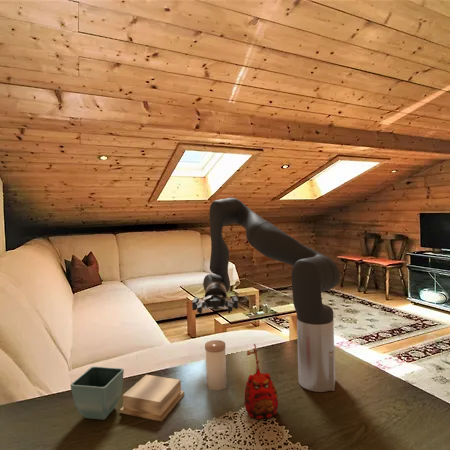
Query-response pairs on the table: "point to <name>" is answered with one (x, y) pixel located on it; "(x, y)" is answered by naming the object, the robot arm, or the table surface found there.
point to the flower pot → (97, 391)
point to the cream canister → (216, 365)
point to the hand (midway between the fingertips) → (214, 310)
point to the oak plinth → (152, 397)
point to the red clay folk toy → (260, 394)
